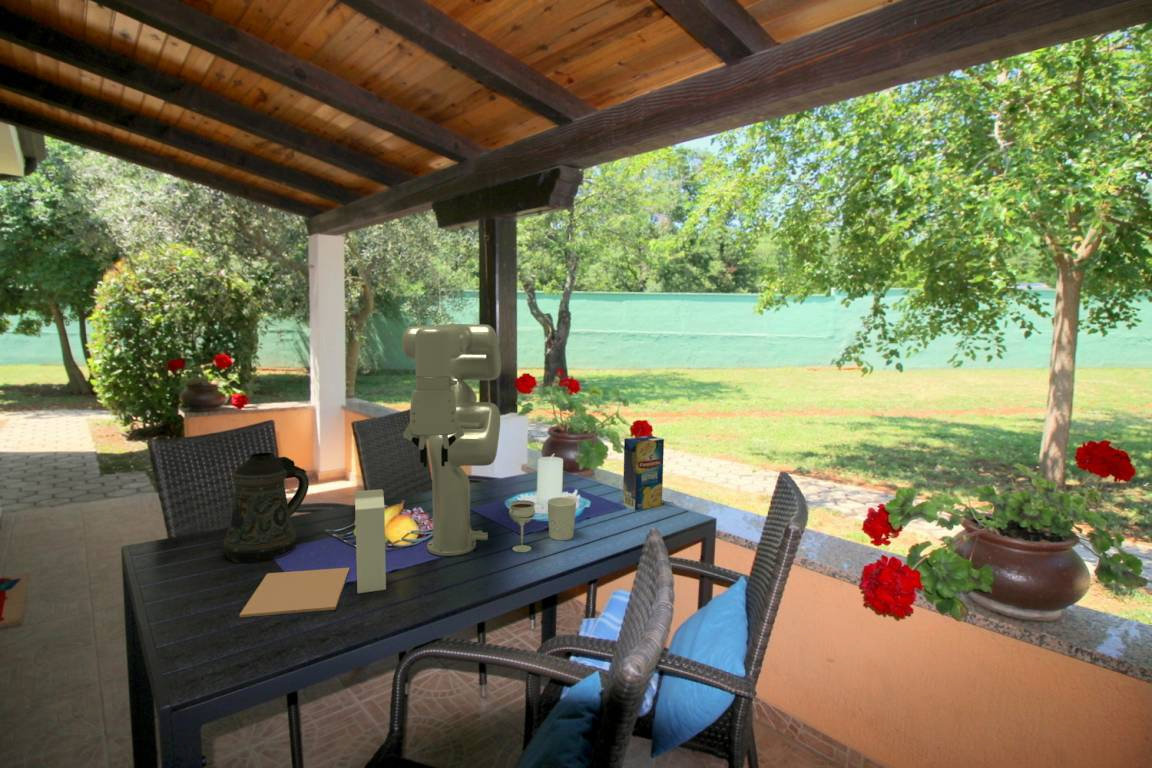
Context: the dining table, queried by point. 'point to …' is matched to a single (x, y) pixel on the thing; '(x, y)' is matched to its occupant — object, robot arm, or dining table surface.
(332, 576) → the mat
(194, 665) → the dining table surface
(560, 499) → the beige tumbler cup
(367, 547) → the milk
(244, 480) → the beer stein
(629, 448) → the blue cardboard tall box
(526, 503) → the wineglass
